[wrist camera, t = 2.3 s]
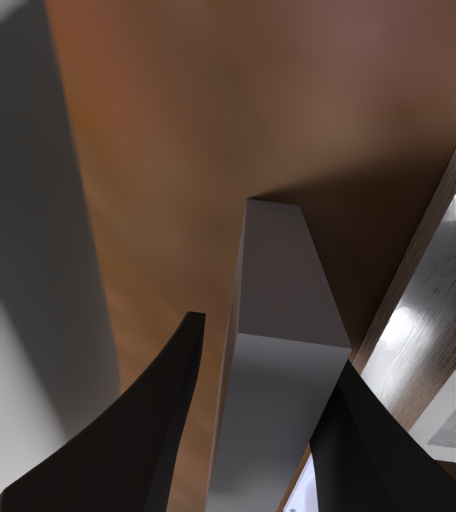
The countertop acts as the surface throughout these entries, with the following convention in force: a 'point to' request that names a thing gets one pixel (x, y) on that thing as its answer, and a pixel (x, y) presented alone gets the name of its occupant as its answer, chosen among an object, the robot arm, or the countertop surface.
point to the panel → (272, 361)
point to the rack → (420, 331)
